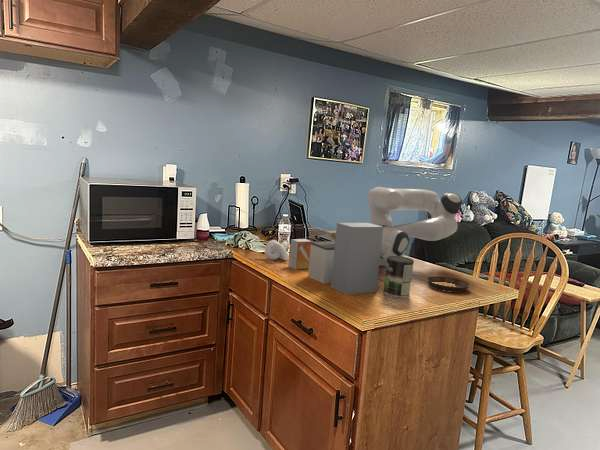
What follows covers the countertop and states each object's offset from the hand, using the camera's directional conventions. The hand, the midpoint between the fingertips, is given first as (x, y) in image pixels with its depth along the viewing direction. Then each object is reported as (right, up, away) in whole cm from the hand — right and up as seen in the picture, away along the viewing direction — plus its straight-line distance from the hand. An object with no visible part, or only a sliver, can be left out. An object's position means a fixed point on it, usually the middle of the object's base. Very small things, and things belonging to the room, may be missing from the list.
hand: (356, 233), depth 185 cm
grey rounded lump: (-36, -13, +26) cm, 46 cm away
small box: (-25, -16, +12) cm, 32 cm away
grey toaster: (-10, -19, -2) cm, 22 cm away
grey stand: (-3, -22, -16) cm, 27 cm away
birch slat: (-5, -2, -2) cm, 6 cm away
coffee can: (+13, -23, -18) cm, 32 cm away
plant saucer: (+39, -24, -2) cm, 45 cm away
